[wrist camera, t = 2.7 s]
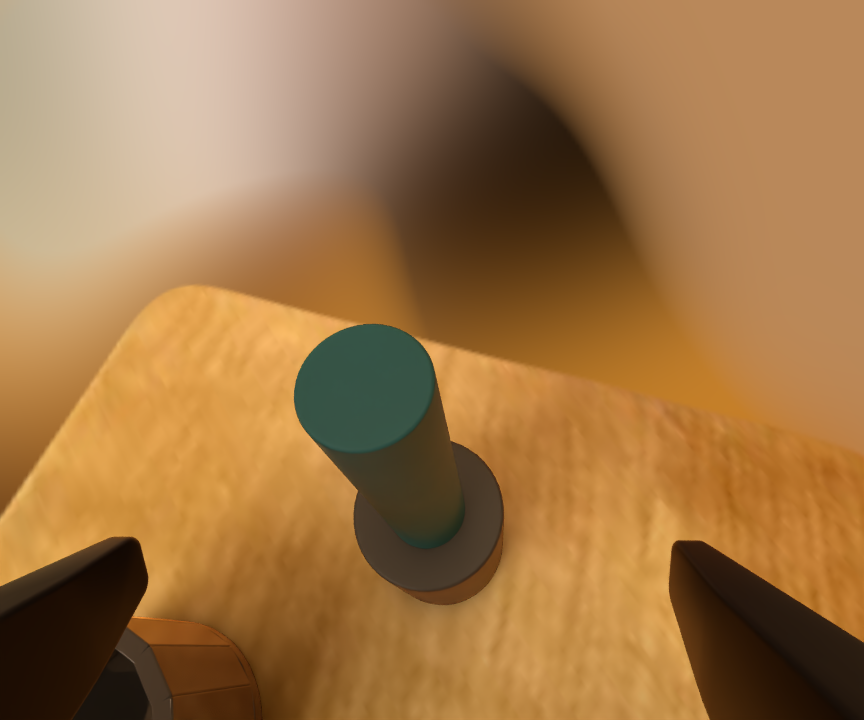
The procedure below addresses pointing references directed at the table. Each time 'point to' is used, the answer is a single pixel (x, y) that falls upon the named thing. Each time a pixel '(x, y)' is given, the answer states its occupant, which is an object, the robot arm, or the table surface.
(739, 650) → the robot arm
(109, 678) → the tumbler
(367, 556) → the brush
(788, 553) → the table surface
